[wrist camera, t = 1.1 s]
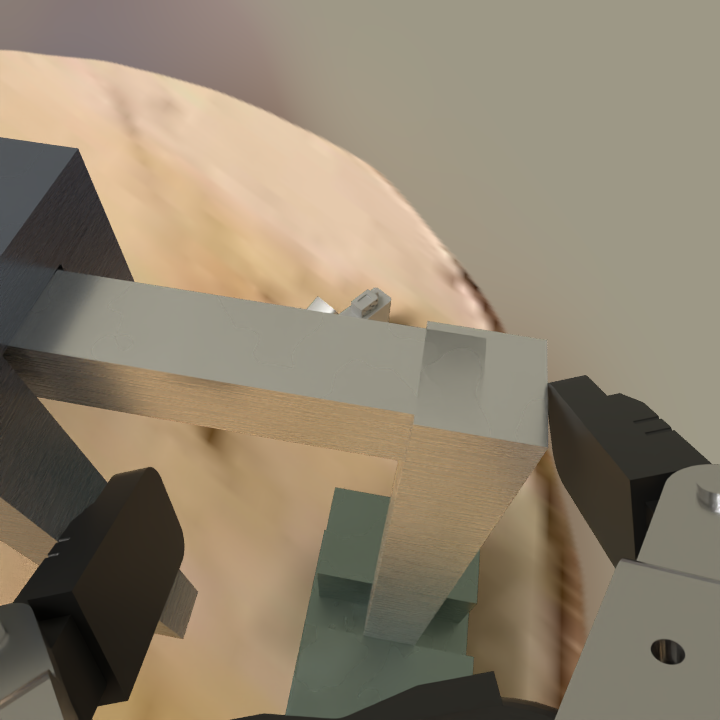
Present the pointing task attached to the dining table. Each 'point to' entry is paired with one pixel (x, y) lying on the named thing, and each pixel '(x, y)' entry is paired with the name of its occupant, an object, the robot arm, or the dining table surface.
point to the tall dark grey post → (5, 316)
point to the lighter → (361, 306)
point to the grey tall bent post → (329, 430)
